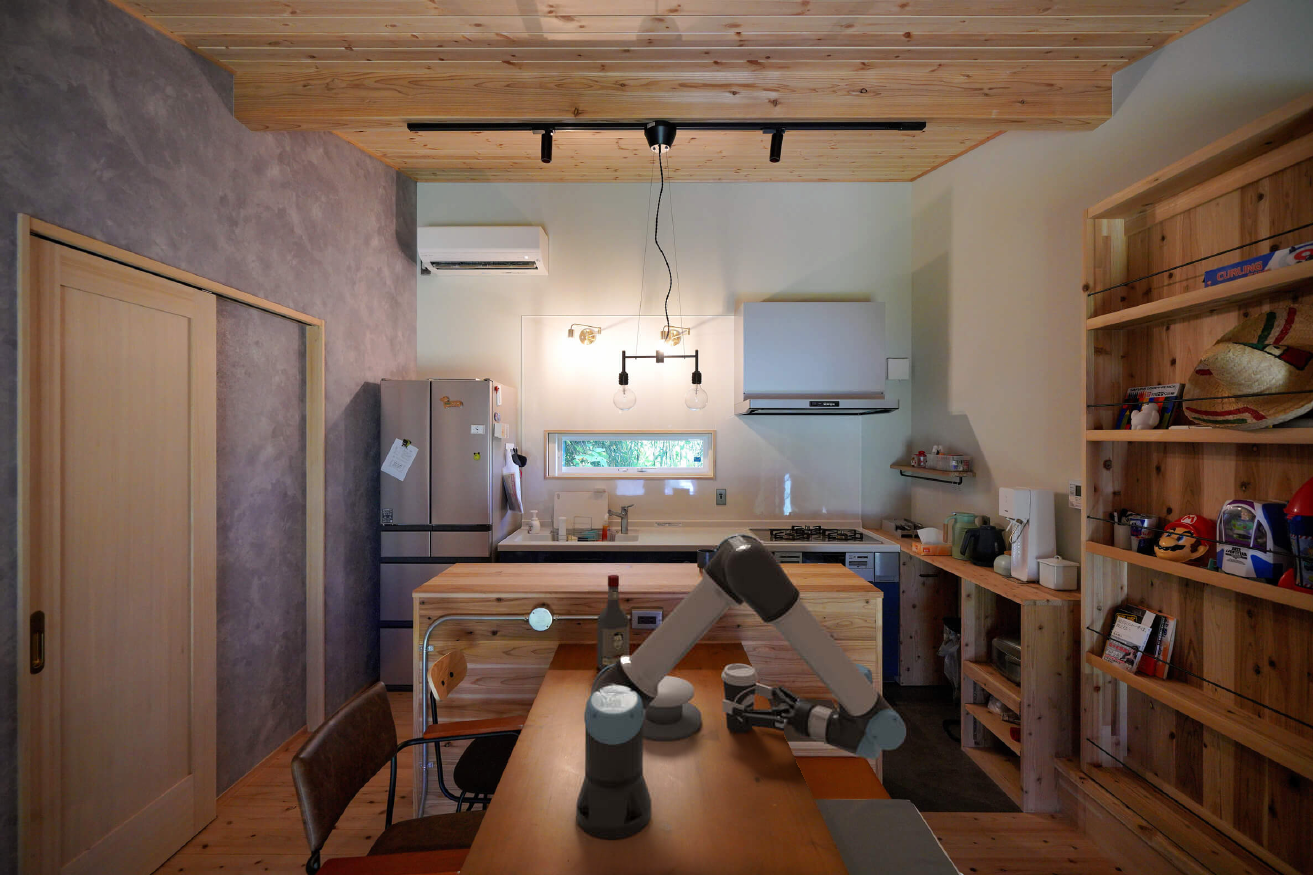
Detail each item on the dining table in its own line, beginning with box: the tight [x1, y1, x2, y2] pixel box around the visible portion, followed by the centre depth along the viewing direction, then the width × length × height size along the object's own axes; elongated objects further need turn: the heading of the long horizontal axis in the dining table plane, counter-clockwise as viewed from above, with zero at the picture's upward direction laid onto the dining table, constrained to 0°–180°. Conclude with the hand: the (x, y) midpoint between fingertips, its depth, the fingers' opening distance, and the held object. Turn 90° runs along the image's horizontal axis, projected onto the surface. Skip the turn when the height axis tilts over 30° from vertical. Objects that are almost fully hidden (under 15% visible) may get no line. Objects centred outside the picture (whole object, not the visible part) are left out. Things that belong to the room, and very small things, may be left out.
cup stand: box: [643, 675, 702, 742], centre depth 151 cm, size 20×20×8 cm
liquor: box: [596, 574, 630, 671], centre depth 185 cm, size 9×9×30 cm
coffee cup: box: [721, 663, 759, 734], centre depth 148 cm, size 10×10×15 cm
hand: (737, 695), depth 149 cm, fingers open, 13 cm apart
